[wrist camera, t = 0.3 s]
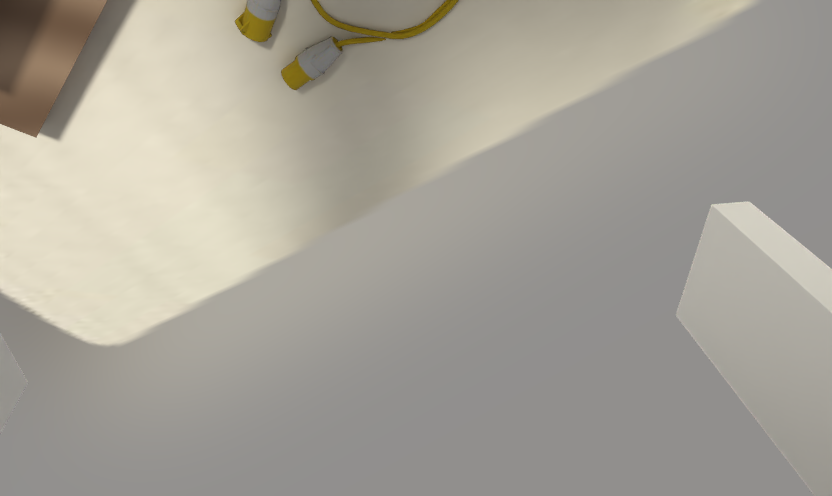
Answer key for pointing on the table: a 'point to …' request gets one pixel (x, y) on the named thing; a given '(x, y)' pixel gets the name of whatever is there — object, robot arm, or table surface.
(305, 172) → the table surface
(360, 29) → the gold torc necklace
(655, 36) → the table surface
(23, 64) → the socket block
